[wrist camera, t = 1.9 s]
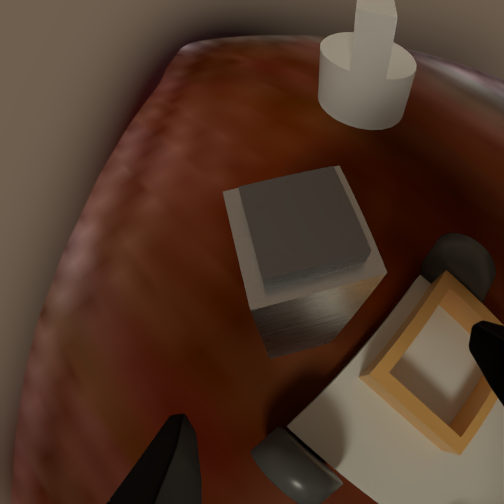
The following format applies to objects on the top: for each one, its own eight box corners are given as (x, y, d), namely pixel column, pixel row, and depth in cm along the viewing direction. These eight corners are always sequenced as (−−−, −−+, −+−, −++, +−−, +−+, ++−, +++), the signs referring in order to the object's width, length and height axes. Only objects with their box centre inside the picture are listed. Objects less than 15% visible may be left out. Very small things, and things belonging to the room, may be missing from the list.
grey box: (330, 342, 19) (394, 262, 8) (269, 358, 19) (247, 303, 8) (313, 284, 21) (341, 151, 10) (254, 300, 21) (219, 178, 10)
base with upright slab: (324, 71, 31) (327, -24, 21) (402, 87, 29) (422, -4, 19) (310, 118, 28) (313, 2, 17) (404, 139, 26) (437, 29, 15)
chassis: (562, 396, 14) (601, 388, 10) (435, 574, 10) (461, 600, 6) (425, 254, 21) (453, 219, 17) (255, 443, 17) (245, 458, 13)
